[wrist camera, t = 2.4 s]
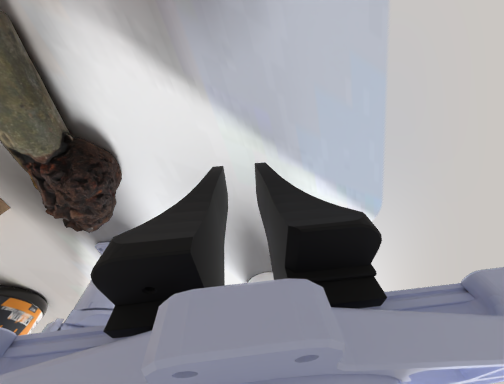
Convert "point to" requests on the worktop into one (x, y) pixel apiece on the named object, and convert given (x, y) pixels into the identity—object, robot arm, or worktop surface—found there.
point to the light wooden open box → (3, 207)
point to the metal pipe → (51, 144)
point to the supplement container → (20, 309)
